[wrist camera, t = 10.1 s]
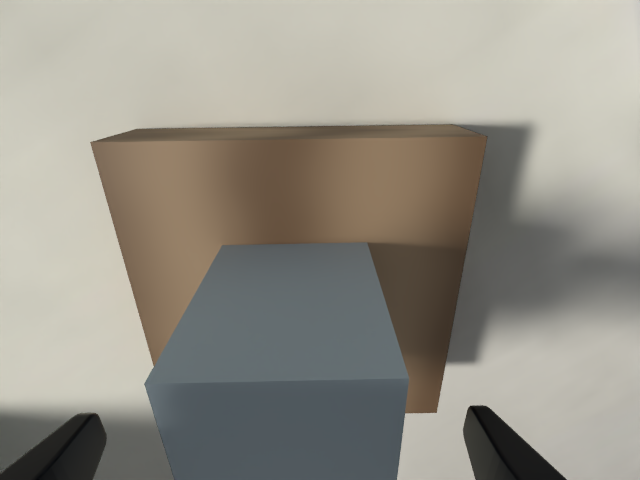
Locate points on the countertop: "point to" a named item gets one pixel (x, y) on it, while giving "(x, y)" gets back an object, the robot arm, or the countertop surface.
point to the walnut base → (300, 216)
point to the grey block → (283, 369)
